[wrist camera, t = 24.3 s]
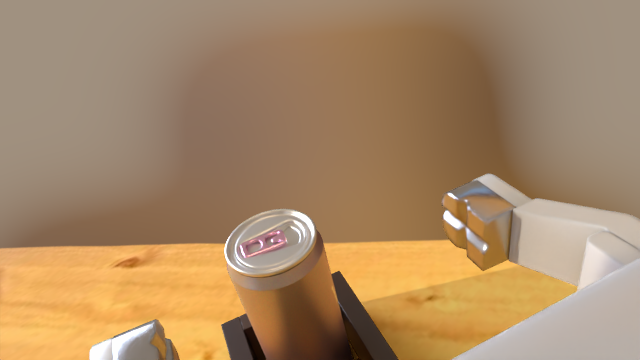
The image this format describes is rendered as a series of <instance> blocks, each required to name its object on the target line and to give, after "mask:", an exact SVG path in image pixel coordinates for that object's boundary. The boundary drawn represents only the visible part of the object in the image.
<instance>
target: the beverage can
mask: <svg viewBox="0 0 640 360" xmlns="http://www.w3.org/2000/svg"><path fill="white" fill-rule="evenodd" d="M225 257H226V260H227V270H228V273H229V275H230V278H231V280H232V282H233V285H234V287H235V289H236V291H237V294H238V296H239V298H240V300H241V303H242V305H243V307H244V309H245V312H246V314H247V316H248V318H249V321H250V323H251V325H252V327H253V330H254V332H255V334H256V336H257V339H258V341H259V343H260V345H261V348H262V350H263V352H264V354H265V357H266V359H267V360H353V358H352V354H351V350H350V346H349V342H348V338H347V334H346V330H345V326H344V323H343V319H342V315H341V311H340V307H339V303H338V299H337V295H336V291H335V287H334V283H333V279H332V276H331V272H330V268H329V264H328V260H327V256H326V252H325V248H324V244H323V240H322V237H321V235H320V233H319V232H318V231H317V229H316V226H315V224H314V222H313V221H312V219H311V218H309V216H307V215H306V214H304V213H302V212H299V211H296V210H291V209H275V210H270V211H266V212H263V213H260V214H257V215H255V216H253V217H251V218H249V219H248V220H246V221H244V222H243V223H242V224H240V225H239V226H238V227H237V228H236V229H235V230H234V231H233V232H232V234H231V235H230V236H229V238H228V240H227V242H226V246H225Z"/></svg>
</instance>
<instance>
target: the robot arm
mask: <svg viewBox="0 0 640 360" xmlns="http://www.w3.org/2000/svg"><path fill="white" fill-rule="evenodd" d="M442 206H443V207H444V208H446V209H447V210H446V212H445V214H444V215H443V217H442V220H443V228H444V230H445V233H446V235H447V237H448V238H449V239H450V241H451V242H452V243H453V244H454V245H455V246H456V247H459V248H463V249H466V251H467V257H468V258H469V259H470V260H471V261H472V262H473V263H475V264H476V265H477V266H478V267H479V268H480V269H481V270H482V271H485V270H487V269H489V268H491V267H493V266H495V265H498V264H500V263H502V262H504V261H506V260H508V259H509V261H510V262H513V263H516V264H518V265H521V266H524V267H527V268H529V269H532V270H535V271H537V272H540V273H543V274H545V275H548V276H551V277H554V278H556V279H559V280H562V281H564V282H567V283H570V284H573V285H575V286H577V291H576V292H575V293H573V294H571V295H570V296H568V297H566V298H564V299H562V300H560V301H558V302H557V303H555V304H553V305H551V306H549V307H547V308H546V309H544V310H542V311H540V312H538V313H536V314H534V315H533V316H531V317H529V318H527V319H525V320H523V321H521V322H520V323H518V324H516V325H514V326H512V327H510V328H508V329H507V330H505V331H503V332H501V333H499V334H497V335H496V336H494V337H492V338H490V339H488V340H486V341H484V342H483V343H481V344H479V345H477V346H475V347H473V348H472V349H470V350H468V351H466V352H464V353H462V354H460V355H459V356H457V357H455V358H453V359H451V360H640V219H638V218H636V217H634V216H632V215H630V214H624V213H619V212H614V211H608V210H602V209H596V208H591V207H585V206H579V205H574V204H568V203H562V202H556V201H551V200H544V199H539V198H536V199H534V200H532V199H530V198H529V197H527V196H526V195H524V194H523V193H521V192H520V191H518V190H516V189H515V188H513V187H512V186H510V185H509V184H507V183H506V182H504V181H502V180H501V179H499V178H498V177H496V176H495V175H493V174H486V175H484V176H482V177H479V178H477V179H475V180H473V181H471V182H468V183H466V184H464V185H462V186H459V187H457V188H455V189H453V190H451V191H448V192H446V193H444V194H443V196H442ZM89 360H180V359H179V356H178V353H177V351H176V349H175V346H174V345H173V343H172V341H171V340H170V339H166V338H165V334H164V328H163V327H162V325H161V324H160V322H159V321H158V320H156V319H155V320H153V321H150V322H148V323H145V324H143V325H140V326H138V327H136V328H133V329H131V330H128V331H126V332H123V333H121V334H119V335H116V336H114V337H113V338H110V339H108V340H105V341H103V342H100V343H98V344H95V345H93V346H92V348H91V350H90V354H89Z"/></svg>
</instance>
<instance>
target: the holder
mask: <svg viewBox="0 0 640 360" xmlns="http://www.w3.org/2000/svg"><path fill="white" fill-rule="evenodd" d="M331 276H332V279H333V283H334V287H335V291H336V295H337V299H338V303H339V307H340V311H341V315H342V319H343V323H344V326H345V330H346V334H347V338H348V339H349V341H350V343H351V344H352V346H353V348H354V350H355V351H356V353H357V355H358V357H359V358H360V360H398V358H397V357H396V355H395V354H394V352H393V351H392V349H391V348H390V346H389V345H388V343H387V342H386V340H385V339H384V337H383V336H382V334H381V333H380V331H379V330H378V328H377V327H376V325H375V324H374V322H373V321H372V319H371V318H370V316H369V315H368V313H367V312H366V310H365V309H364V307H363V306H362V304H361V303H360V301H359V300H358V298H357V297H356V295H355V294H354V292H353V291H352V289H351V288H350V286H349V285H348V283H347V281H346V280H345V278H344V277H343V275H342V274H341V272H340V271H338V272H335V273H333V274H331ZM221 326H222V330H223V333H224V337H225V340H226V344H227V347H228V351H229V354H230V358H231V360H266V357H265V354H264V352H263V350H262V348H261V345H260V343H259V341H258V339H257V336H256V334H255V332H254V330H253V327H252V325H251V323H250V321H249V318H248V316H247V314H244V315H242V316H240V317H237V318H235V319H233V320H230V321H228V322H226V323H224V324H222V325H221Z"/></svg>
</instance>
